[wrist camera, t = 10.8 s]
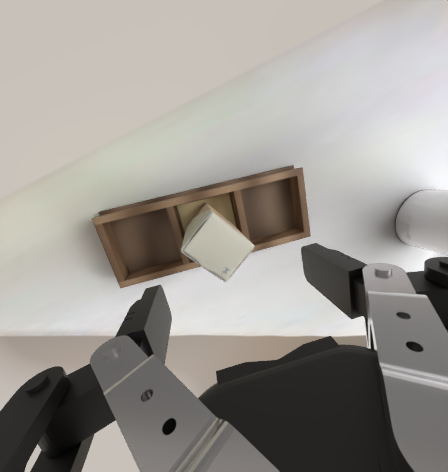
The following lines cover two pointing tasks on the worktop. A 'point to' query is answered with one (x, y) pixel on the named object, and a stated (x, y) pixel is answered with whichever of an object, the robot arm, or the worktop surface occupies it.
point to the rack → (184, 209)
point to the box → (215, 243)
